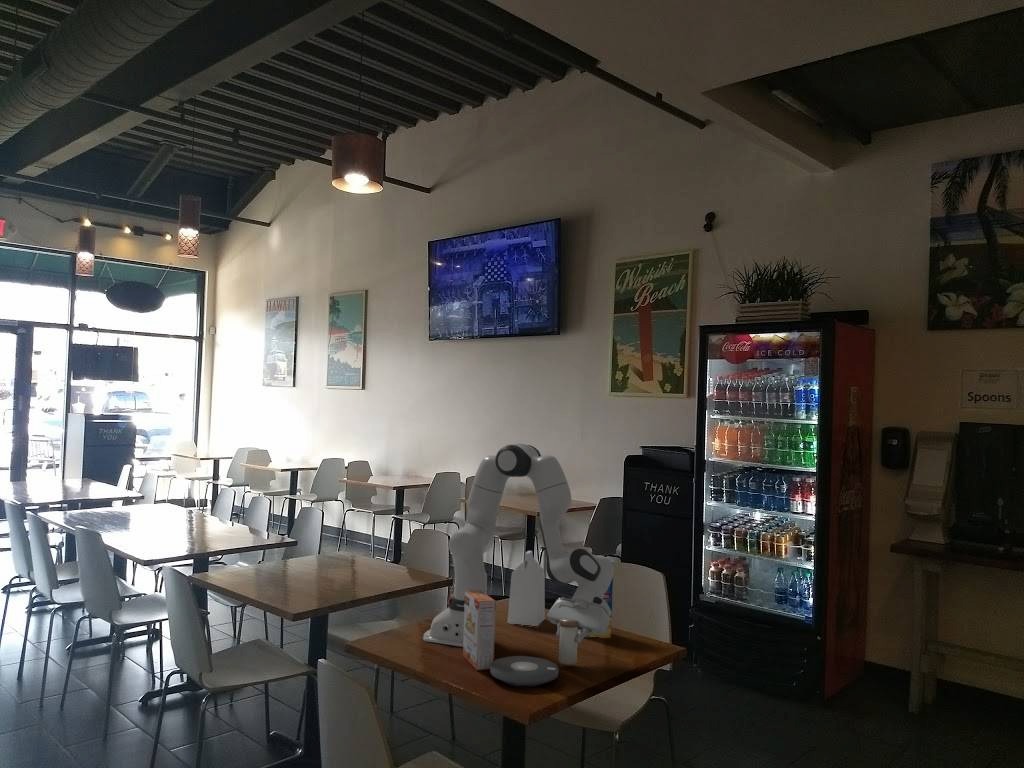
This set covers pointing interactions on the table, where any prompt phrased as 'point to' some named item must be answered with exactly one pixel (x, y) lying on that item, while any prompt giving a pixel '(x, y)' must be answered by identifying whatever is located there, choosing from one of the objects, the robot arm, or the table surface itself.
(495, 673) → the lazy susan
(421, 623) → the table surface
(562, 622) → the jar
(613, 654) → the table surface
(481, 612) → the cracker box
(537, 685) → the lazy susan base
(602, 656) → the table surface
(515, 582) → the milk
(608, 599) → the blue cardboard box
